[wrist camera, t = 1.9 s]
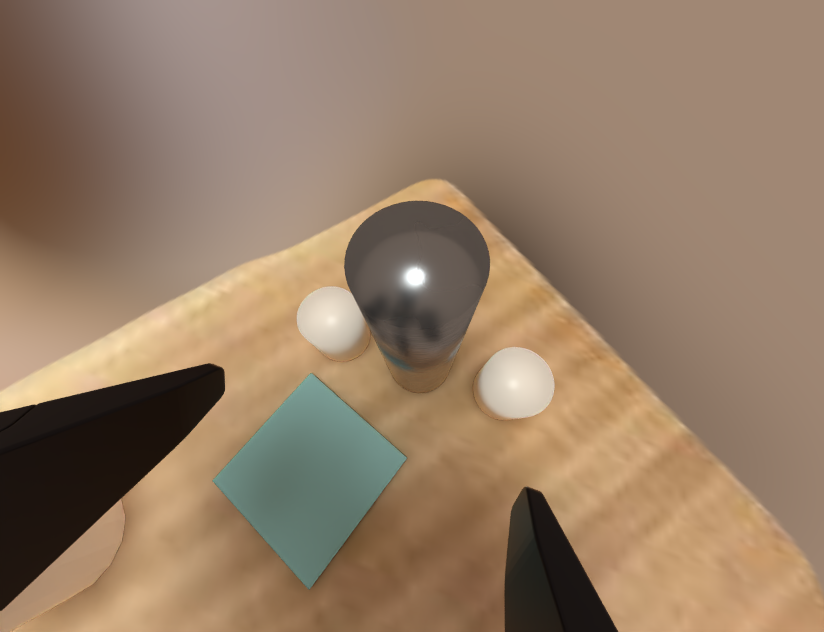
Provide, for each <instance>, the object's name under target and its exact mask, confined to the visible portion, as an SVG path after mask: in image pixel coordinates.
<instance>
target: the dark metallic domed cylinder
mask: <svg viewBox="0 0 824 632" xmlns="http://www.w3.org/2000/svg"><path fill="white" fill-rule="evenodd" d="M344 268H345V276H346V280H347V284H348V286H349V288H350V291H351V293H352V295H353V297H354V299H355V301H356V303H357V305H358V307H359V309H360V311H361V313H362V315H363V317H364V319H365V321H366V323H367V325H368V327H369V329H370V331H371V333H372V335H373V337H374V339H375V341H376V343H377V345H378V347H379V349H380V351H381V353H382V356H383V358H384V360H385V362H386V364H387V366H388V368H389V370H390V372H391V374H392V376H393V378H394V379H395V381H396V382H397V383H398V384H399V385H400V386H401V387H403V388H404V389H406V390H408V391H411V392H415V393H425V392H429V391H432V390H434V389H436V388H437V387H439V386H440V385H441V384H442V383H443V382H444V381H445V379H446V377H447V375H448V373H449V371H450V368H451V366H452V364H453V361H454V359H455V357H456V354H457V352H458V350H459V347H460V345H461V342H462V340H463V338H464V335H465V333H466V331H467V328H468V326H469V324H470V321H471V319H472V316H473V314H474V312H475V309H476V307H477V305H478V302H479V300H480V298H481V295H482V293H483V290H484V288H485V286H486V283H487V280H488V277H489V270H490V257H489V251H488V248H487V245H486V242H485V240H484V238H483V236H482V234H481V233H480V231H479V230H478V228H477V227H476V226H475V225H474V224H473V223H472V222H471V221H470V220H469V219H468V218H467V217H466V216H464V215H463V214H461V213H460V212H458V211H456V210H454V209H452V208H450V207H448V206H445V205H442V204H438V203H434V202H428V201H408V202H402V203H398V204H394V205H391V206H388V207H386V208H383V209H381V210H380V211H378V212H376V213H374V214H373V215H372V216H370V217H369V218H368V219H366V220H365V221H364V222H363V223H362V224H361V225H360V226H359V228H358V229H357V230H356V232H355V233H354V234H353V236H352V238H351V240H350V242H349V244H348V247H347V250H346V255H345V265H344Z"/></svg>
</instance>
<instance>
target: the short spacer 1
mask: <svg viewBox="0 0 824 632" xmlns="http://www.w3.org/2000/svg"><path fill="white" fill-rule="evenodd" d="M297 325H298V328H299V331H300V333H301V334H302V335H303V336H304V337H305V338H306V339H307V340H308V341H309V342H310V343H311V344H313V345H314V346H315V347H316V348H317V349H318V350H319V351H321V352H322V353H323V354H324V355H325V356H327V357H328V358H330V359H331V360H334V361H339V362H345V361H350V360H353V359H355V358H357V357H358V356H360V355H361V354H362V353H363V352H364V351H365V349H366V348H367V346H368V344H369V341H370V329H369V327H368V325H367V323H366V321H365V319H364V317H363V315H362V313H361V311H360V309H359V307H358V305H357V303H356V301H355V299H354V297H353V295H352V294H351V293H350V292H349V291H347V290H345V289H343V288H340V287H334V286H329V287H323V288H320V289H317V290H315V291H313V292H312V293H310V294H309V295H308V296H307V297H306V298H305V299H304V300H303V302H302V303H301V305H300V307H299V309H298V313H297Z"/></svg>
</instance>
